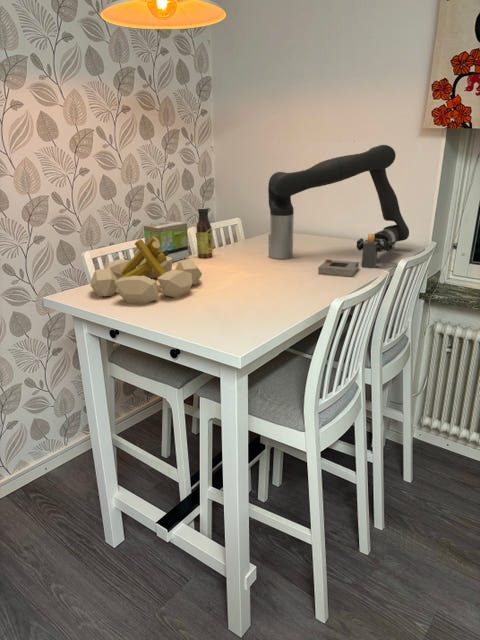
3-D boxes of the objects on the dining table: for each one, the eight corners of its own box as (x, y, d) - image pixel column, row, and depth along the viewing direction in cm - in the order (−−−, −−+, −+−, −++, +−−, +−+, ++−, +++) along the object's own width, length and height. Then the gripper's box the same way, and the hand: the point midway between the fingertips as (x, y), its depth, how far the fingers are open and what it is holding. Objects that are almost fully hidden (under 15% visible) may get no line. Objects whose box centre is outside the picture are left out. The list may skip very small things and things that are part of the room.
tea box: (163, 265, 191) (160, 227, 186) (145, 262, 197) (142, 225, 192) (189, 258, 202) (187, 222, 197) (172, 255, 208) (169, 220, 203)
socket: (318, 274, 175) (318, 265, 174) (326, 266, 185) (326, 258, 184) (351, 277, 170) (352, 268, 169) (358, 268, 181) (358, 260, 180)
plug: (361, 267, 183) (363, 235, 178) (363, 264, 187) (366, 233, 182) (374, 268, 181) (376, 236, 177) (376, 265, 185) (378, 233, 181)
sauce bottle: (212, 258, 200) (210, 209, 193) (196, 258, 201) (194, 209, 194) (213, 254, 207) (211, 206, 200) (198, 255, 207) (196, 207, 200)
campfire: (219, 283, 168) (218, 233, 162) (153, 312, 141) (148, 254, 135) (143, 270, 186) (139, 225, 180) (71, 294, 159) (64, 242, 153)
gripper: (365, 229, 195) (350, 236, 182) (402, 232, 187) (388, 240, 174) (364, 247, 197) (348, 256, 184) (400, 251, 190) (386, 260, 177)
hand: (368, 248), depth 179 cm, fingers open, 6 cm apart
